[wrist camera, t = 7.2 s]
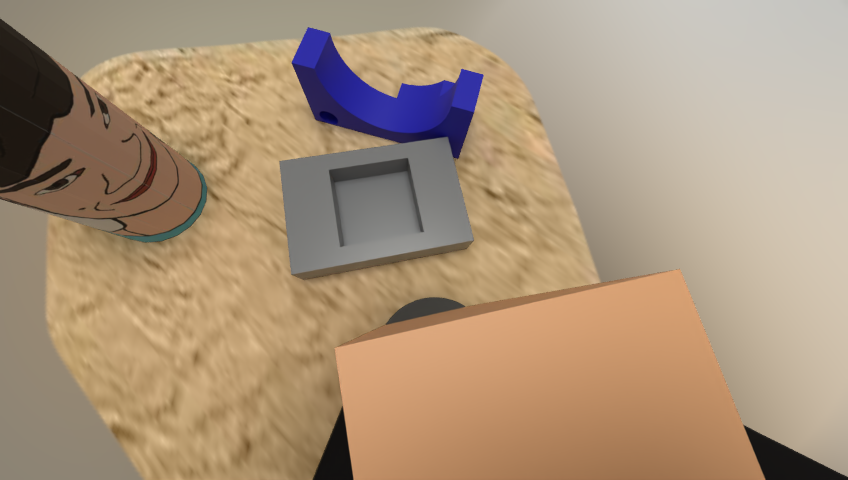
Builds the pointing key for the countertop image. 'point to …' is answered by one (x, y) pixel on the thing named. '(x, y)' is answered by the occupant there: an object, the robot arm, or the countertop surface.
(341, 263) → the socket block
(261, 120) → the countertop surface
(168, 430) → the countertop surface
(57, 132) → the cup
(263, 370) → the countertop surface
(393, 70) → the countertop surface
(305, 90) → the cable clip
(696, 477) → the tan rectangular block
